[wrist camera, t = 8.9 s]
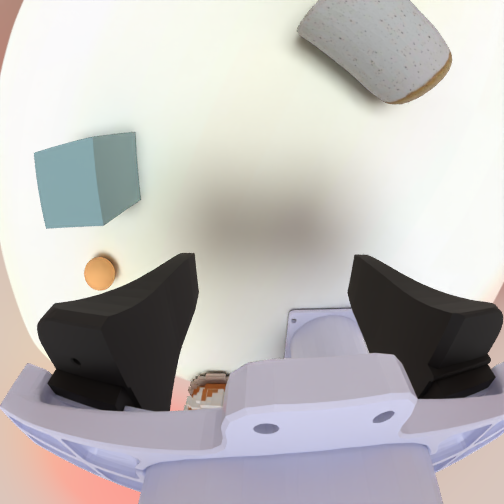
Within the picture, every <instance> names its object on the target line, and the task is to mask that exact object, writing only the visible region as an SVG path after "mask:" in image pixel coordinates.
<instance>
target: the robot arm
mask: <svg viewBox="0 0 504 504" xmlns="http://www.w3.org/2000/svg"><path fill="white" fill-rule="evenodd" d="M198 294H199V289H198V281H197V272H196V263H195V254H194V253H180V254H178V255H176V256H175V257H173V258H171V259H170V260H168V261H167V262H165V263H163V264H162V265H160V266H159V267H157V268H156V269H154V270H152V271H151V272H149V273H147V274H145V275H144V276H142V277H140V278H138V279H136V280H134V281H132V282H130V283H128V284H126V285H124V286H122V287H119V288H117V289H114V290H111V291H108V292H105V293H103V294H99V295H96V296H92V297H88V298H84V299H80V300H75V301H68V302H62V303H55V304H54V305H53V306H52V307H51V308H50V309H49V310H48V311H47V312H46V314H45V315H44V316H43V317H42V318H41V319H40V321H39V322H38V325H37V331H38V336H39V339H40V341H41V344H42V346H43V347H44V349H45V351H46V353H47V354H48V356H49V358H50V359H51V361H52V363H53V364H54V366H55V368H56V370H55V372H54V374H53V375H52V374H51V373H50V372H49V371H47V370H45V369H43V368H40V367H38V366H35V365H33V364H30V363H27V365H26V366H25V368H24V369H23V370H22V372H21V373H20V375H19V376H18V378H17V379H16V381H15V382H14V384H13V385H12V387H11V389H10V390H9V392H8V393H7V395H6V397H5V398H4V400H3V401H2V403H1V405H0V409H1V410H2V411H3V412H4V413H5V414H6V415H7V417H8V418H9V419H10V420H11V421H12V422H13V423H14V424H15V425H16V426H17V427H19V429H20V430H21V431H22V432H23V433H25V434H26V435H27V436H28V437H29V438H30V439H31V440H32V441H33V442H34V443H36V444H37V445H39V446H41V447H42V448H44V449H46V450H48V451H49V452H51V453H53V454H55V455H57V456H59V457H61V458H62V459H64V460H66V461H69V462H70V463H72V464H74V465H76V466H78V467H80V468H82V469H84V470H87V471H89V472H91V473H93V474H95V475H98V476H100V477H102V478H104V479H107V480H109V481H112V482H114V483H117V484H119V485H122V486H125V487H128V488H131V489H133V490H136V491H139V492H141V494H140V499H139V503H138V504H443V501H442V497H441V493H440V489H439V486H438V482H437V479H436V475H435V473H436V472H438V471H440V470H442V469H444V468H446V467H448V466H450V465H452V464H454V463H456V462H457V461H459V460H461V459H463V458H464V457H466V456H468V455H470V454H472V453H473V452H475V451H476V450H478V449H480V448H482V447H483V446H485V445H487V444H488V443H490V442H491V441H493V440H494V439H496V438H498V437H499V436H501V435H502V434H503V433H504V362H502V363H500V364H498V365H496V366H494V367H493V368H492V369H490V367H489V366H488V364H489V363H490V361H491V358H490V357H489V355H488V352H489V350H490V349H491V347H492V345H493V343H494V342H495V340H496V338H497V336H498V334H499V332H500V330H501V327H502V324H503V314H502V312H501V311H500V310H499V309H498V307H497V306H496V305H495V304H493V303H488V302H481V301H474V300H469V299H465V298H460V297H457V296H453V295H450V294H447V293H444V292H441V291H438V290H435V289H433V288H430V287H428V286H426V285H423V284H421V283H419V282H417V281H415V280H413V279H411V278H409V277H407V276H405V275H403V274H402V273H400V272H398V271H396V270H395V269H393V268H391V267H389V266H388V265H386V264H384V263H383V262H381V261H379V260H377V259H375V258H373V257H371V256H369V255H354V261H353V267H352V272H351V278H350V283H349V288H348V297H349V301H350V305H351V308H352V309H324V310H292V311H290V313H289V317H288V327H287V337H286V346H285V355H284V359H267V360H261V361H255V362H249V363H247V364H245V365H243V366H242V367H240V368H239V369H237V370H235V371H234V372H232V373H230V376H229V378H228V381H227V384H226V387H225V395H224V403H223V407H218V408H209V409H197V410H183V411H170V405H171V398H172V390H173V385H174V378H175V374H176V369H177V364H178V359H179V355H180V351H181V348H182V345H183V342H184V339H185V336H186V334H187V331H188V328H189V325H190V323H191V320H192V317H193V314H194V312H195V308H196V304H197V299H198ZM292 319H296V320H292ZM363 337H364V340H365V342H366V345H367V347H366V345H365V342H364V340H363ZM367 348H368V350H369V352H368V350H367Z"/></svg>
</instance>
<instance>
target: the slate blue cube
mask: <svg viewBox="0 0 504 504" xmlns="http://www.w3.org/2000/svg"><path fill="white" fill-rule="evenodd" d="M34 159H35V168H36V176H37V183H38V190H39V196H40V202H41V207H42V212H43V217H44V221H45V226H46V229H47V228H64V227H84V226H104V225H105V224H107V223H108V222H109V221H111V220H112V219H114V218H115V217H116V216H118V215H119V214H121V213H122V212H123V211H125V210H126V209H128V208H129V207H131V206H132V205H134V204H135V203H137V202H138V201H139V200H141V198H140V189H139V179H138V168H137V156H136V140H135V132H130V133H120V134H111V135H103V136H95V137H90V138H86V139H81V140H77V141H73V142H69V143H66V144H62V145H58V146H55V147H51V148H48V149H45V150H42V151H38V152H35V153H34Z"/></svg>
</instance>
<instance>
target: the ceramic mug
mask: <svg viewBox="0 0 504 504" xmlns="http://www.w3.org/2000/svg"><path fill="white" fill-rule="evenodd" d="M297 32H298V34H299V35H300V36H302V37H303V38H305V39H306V40H308V41H309V42H310V43H312V44H313V45H315V46H316V47H317V48H319V49H320V50H321V51H323V52H324V53H325V54H326V55H328V56H329V57H330V58H332V59H333V60H334V61H335V62H337V63H338V64H339V65H340V66H342V67H343V68H344V69H345V70H347V71H348V72H349V73H350V74H351V75H352V76H354V77H355V78H356V79H357V80H358V81H359V82H360V83H361V84H362V85H363V86H364V87H365V88H367V89H368V90H369V91H370V92H371V93H372V94H374V95H375V96H377V97H378V98H379V99H381V100H382V101H384V102H386V103H388V104H403V103H407V102H410V101H412V100H414V99H417V98H419V97H420V96H422V95H424V94H425V93H427V92H428V91H430V90H431V89H432V88H433V87H435V86H436V85H437V84H438V83H439V82H440V81H441V80H442V79H443V78H444V77H445V75H446V74H447V72H448V71H449V69H450V67H451V63H452V55H451V52H450V50H449V47H448V46H447V44H446V43H445V41H444V39H443V38H442V36H441V35H440V33H439V32H438V30H437V29H436V28H435V27H434V26H433V24H432V23H431V22H430V21H429V20H428V19H427V18H426V17H425V16H424V15H423V14H422V13H421V12H420V11H419V10H418V9H417V7H416V6H415V5H414V4H413V3H412V2H411V1H410V0H318V1H317V3H316V4H315V5H314V6H313V7H312V8H311V9H310V10H309V11H308V13H307V14H306V16H305V17H304V18H303V20H302V21H301V23H300V25H299V26H298V28H297Z"/></svg>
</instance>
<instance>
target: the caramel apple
mask: <svg viewBox="0 0 504 504" xmlns="http://www.w3.org/2000/svg"><path fill="white" fill-rule="evenodd" d="M228 378H229V377H226V374H208V373H206V376H198V377H197V379H194V382H191V384H190V386H191V387H189V389H188V391H189V393H190V395H191V396H188V397H187V401H186V405H185V406H184V410H197V409H209V408H218V407H223V403H224V395H225V387H226V384H227V381H228Z"/></svg>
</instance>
